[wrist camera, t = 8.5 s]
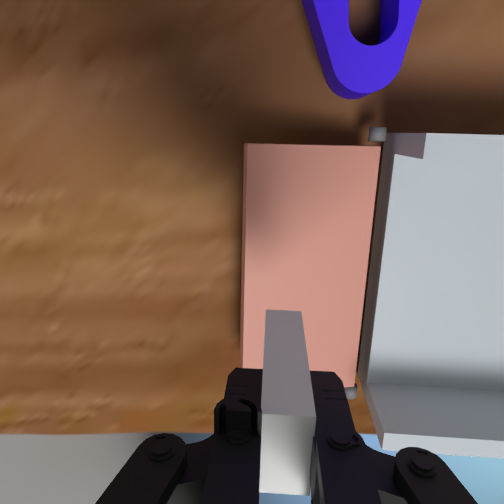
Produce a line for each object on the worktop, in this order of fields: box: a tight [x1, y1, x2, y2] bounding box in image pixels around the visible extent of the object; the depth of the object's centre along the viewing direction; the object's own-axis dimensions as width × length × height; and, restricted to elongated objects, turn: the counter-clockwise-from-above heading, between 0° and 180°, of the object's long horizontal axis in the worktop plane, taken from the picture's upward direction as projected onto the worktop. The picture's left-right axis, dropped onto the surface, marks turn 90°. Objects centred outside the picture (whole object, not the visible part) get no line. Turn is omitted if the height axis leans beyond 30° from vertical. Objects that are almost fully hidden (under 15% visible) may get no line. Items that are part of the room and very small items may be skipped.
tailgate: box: [240, 143, 381, 388], centre depth 27 cm, size 8×16×2 cm, turn 179°
